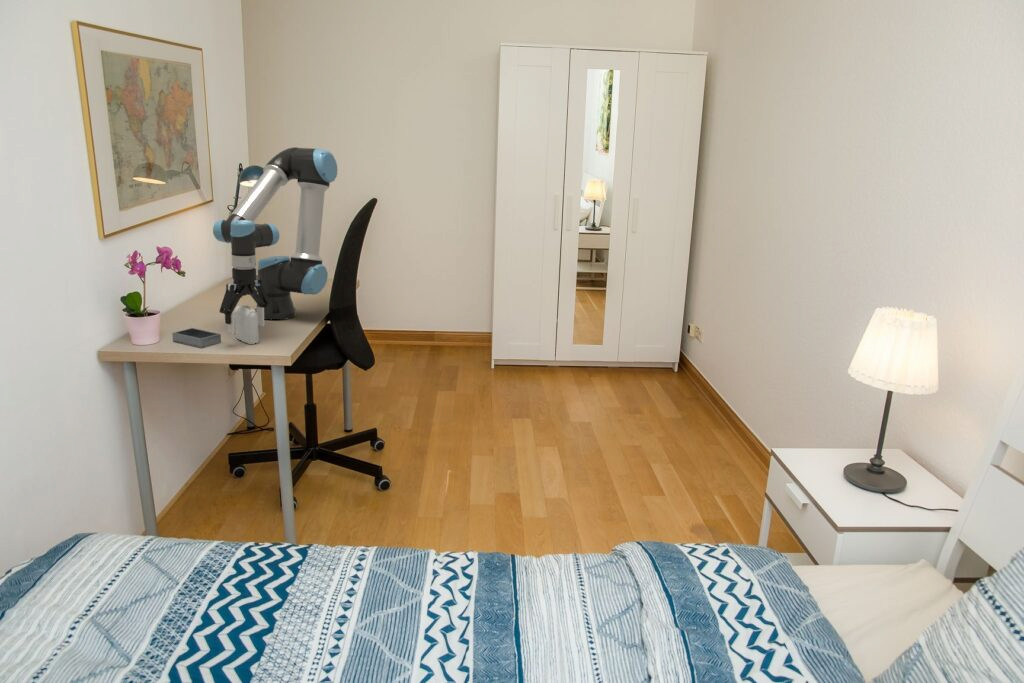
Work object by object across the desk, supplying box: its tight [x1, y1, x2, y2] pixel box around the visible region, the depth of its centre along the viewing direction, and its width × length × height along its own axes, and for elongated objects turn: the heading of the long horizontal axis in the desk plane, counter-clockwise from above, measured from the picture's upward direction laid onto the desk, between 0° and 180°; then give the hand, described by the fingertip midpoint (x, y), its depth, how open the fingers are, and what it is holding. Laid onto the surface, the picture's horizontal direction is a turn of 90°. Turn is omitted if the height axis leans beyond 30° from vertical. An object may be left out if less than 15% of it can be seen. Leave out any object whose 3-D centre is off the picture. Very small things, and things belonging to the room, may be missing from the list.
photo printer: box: [234, 304, 260, 345], centre depth 249 cm, size 10×4×12 cm, turn 47°
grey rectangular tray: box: [172, 327, 222, 349], centre depth 246 cm, size 8×13×3 cm, turn 64°
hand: (246, 329), depth 250 cm, fingers open, 13 cm apart
